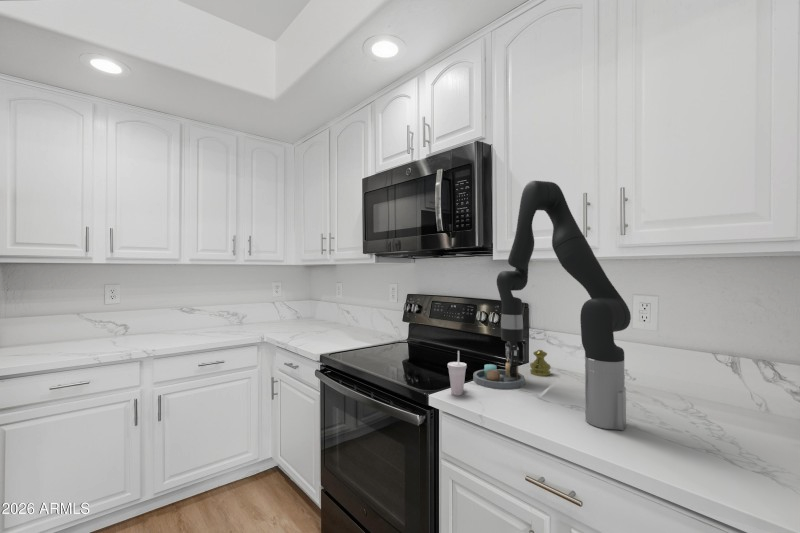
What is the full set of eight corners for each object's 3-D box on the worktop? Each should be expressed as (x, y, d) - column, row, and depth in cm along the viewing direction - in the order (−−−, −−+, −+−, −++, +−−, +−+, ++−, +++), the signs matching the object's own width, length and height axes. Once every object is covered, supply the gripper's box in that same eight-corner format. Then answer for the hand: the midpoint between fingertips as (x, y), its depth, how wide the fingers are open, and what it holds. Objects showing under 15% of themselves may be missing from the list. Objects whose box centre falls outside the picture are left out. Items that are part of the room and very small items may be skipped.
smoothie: (461, 398, 119) (461, 354, 120) (443, 394, 123) (443, 351, 123) (470, 392, 125) (470, 350, 125) (453, 389, 128) (453, 348, 129)
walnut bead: (496, 387, 127) (496, 374, 127) (484, 384, 130) (484, 372, 130) (501, 383, 131) (501, 371, 131) (489, 381, 134) (489, 369, 134)
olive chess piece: (527, 373, 147) (526, 348, 148) (545, 373, 148) (545, 348, 148) (534, 379, 140) (534, 352, 140) (554, 378, 141) (554, 352, 141)
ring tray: (531, 382, 136) (531, 374, 136) (514, 395, 122) (513, 386, 122) (485, 374, 147) (485, 366, 147) (464, 385, 132) (464, 376, 132)
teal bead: (498, 377, 139) (498, 365, 139) (493, 380, 135) (493, 367, 135) (487, 375, 142) (487, 363, 142) (482, 378, 138) (482, 366, 138)
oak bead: (517, 374, 136) (517, 362, 136) (519, 378, 131) (519, 365, 131) (504, 374, 136) (504, 362, 136) (506, 377, 132) (506, 365, 132)
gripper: (527, 330, 126) (527, 381, 126) (518, 324, 140) (519, 370, 140) (504, 329, 127) (504, 380, 127) (498, 323, 141) (498, 369, 141)
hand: (512, 374), depth 134 cm, fingers closed on oak bead, 4 cm apart
